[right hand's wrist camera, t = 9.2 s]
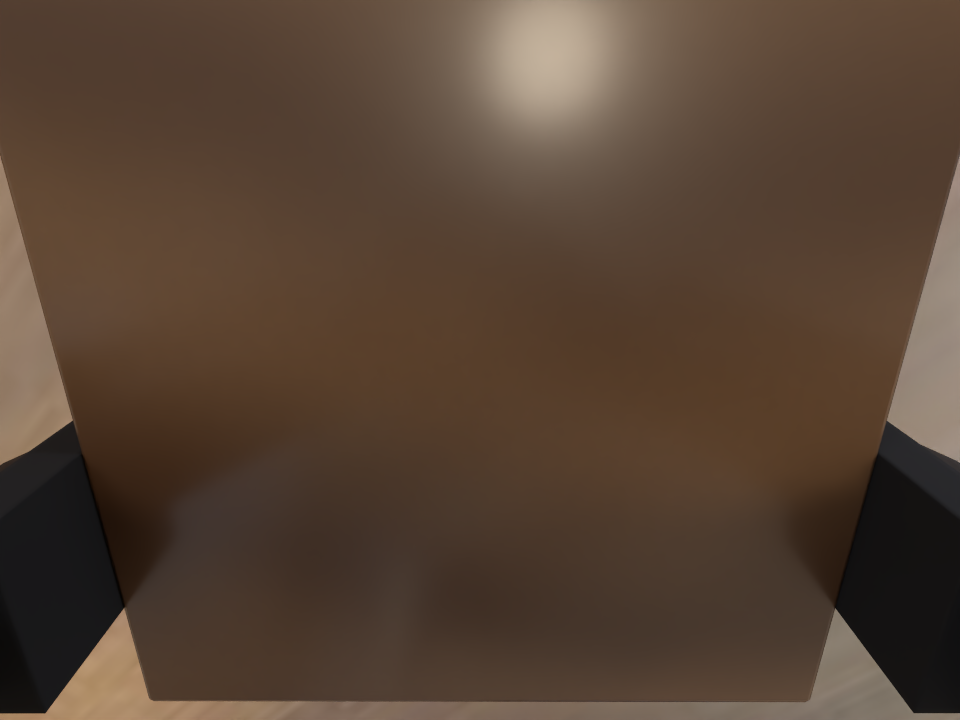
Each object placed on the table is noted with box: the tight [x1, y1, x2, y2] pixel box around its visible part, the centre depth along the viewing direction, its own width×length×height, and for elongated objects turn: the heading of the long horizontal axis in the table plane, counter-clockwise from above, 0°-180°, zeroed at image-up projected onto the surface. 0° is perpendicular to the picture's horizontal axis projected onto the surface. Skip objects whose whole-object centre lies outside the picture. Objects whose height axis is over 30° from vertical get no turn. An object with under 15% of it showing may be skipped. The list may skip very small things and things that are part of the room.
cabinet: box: [0, 0, 960, 702], centre depth 10 cm, size 18×11×8 cm, turn 0°
